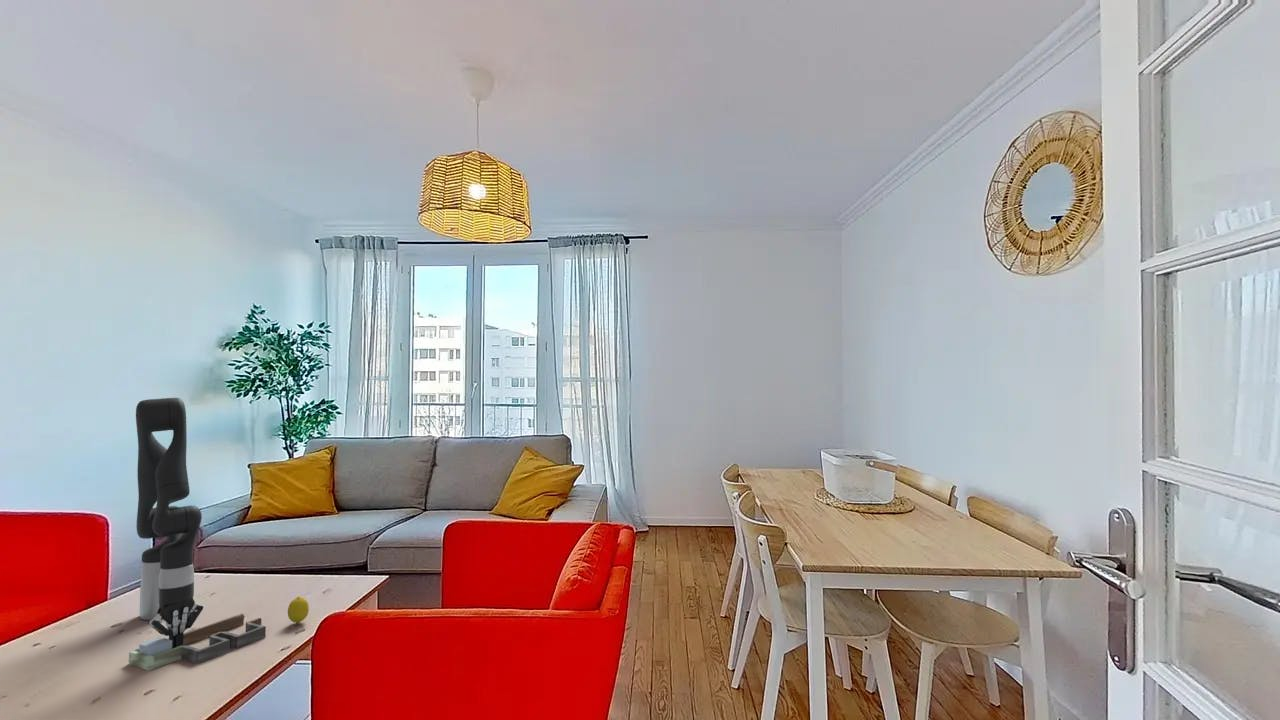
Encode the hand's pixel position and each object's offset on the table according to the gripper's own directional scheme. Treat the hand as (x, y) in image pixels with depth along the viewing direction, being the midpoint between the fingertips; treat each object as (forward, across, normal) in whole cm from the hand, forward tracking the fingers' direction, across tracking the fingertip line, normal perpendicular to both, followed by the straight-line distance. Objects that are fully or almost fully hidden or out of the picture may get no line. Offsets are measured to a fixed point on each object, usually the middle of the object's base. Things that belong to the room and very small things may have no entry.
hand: (175, 647), depth 165 cm
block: (+2, +5, 0) cm, 5 cm away
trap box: (+2, -6, +3) cm, 7 cm away
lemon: (+2, -28, +11) cm, 30 cm away
